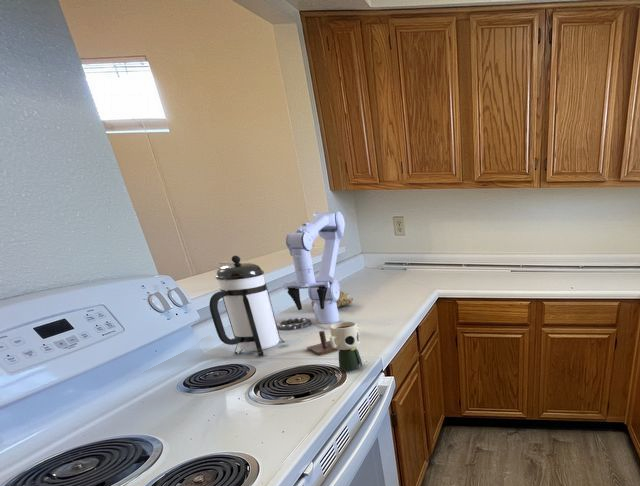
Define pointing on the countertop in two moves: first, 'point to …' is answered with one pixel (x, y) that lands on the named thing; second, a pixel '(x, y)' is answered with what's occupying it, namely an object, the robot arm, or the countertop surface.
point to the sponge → (342, 299)
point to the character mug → (346, 344)
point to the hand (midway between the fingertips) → (311, 309)
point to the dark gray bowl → (302, 321)
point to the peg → (322, 346)
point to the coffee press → (245, 307)
